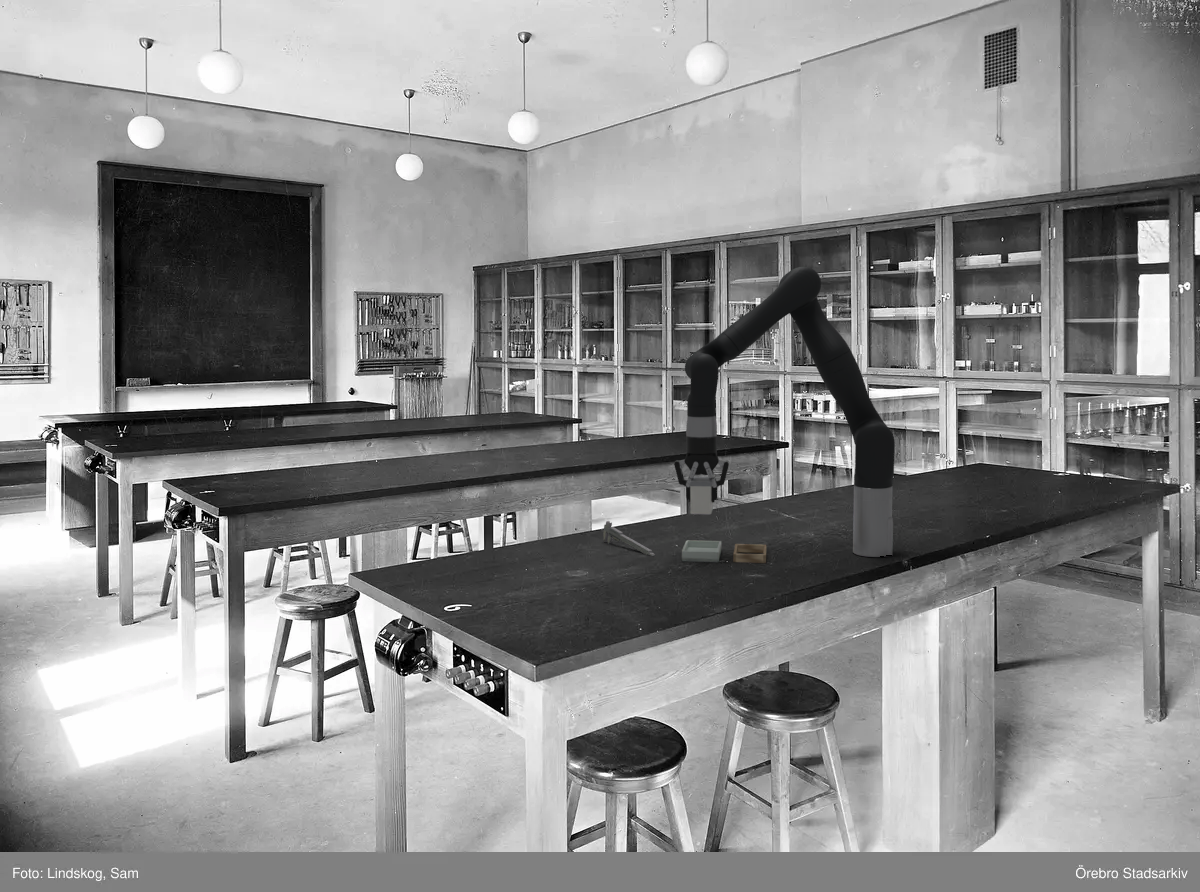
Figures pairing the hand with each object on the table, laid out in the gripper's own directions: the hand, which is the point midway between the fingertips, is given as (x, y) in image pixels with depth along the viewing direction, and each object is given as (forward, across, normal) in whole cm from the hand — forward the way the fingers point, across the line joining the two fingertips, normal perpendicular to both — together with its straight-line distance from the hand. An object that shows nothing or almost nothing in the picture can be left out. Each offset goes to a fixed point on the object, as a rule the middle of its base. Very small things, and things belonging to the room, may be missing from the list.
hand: (701, 501), depth 229 cm
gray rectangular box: (+2, 0, 0) cm, 2 cm away
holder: (+14, -12, 0) cm, 18 cm away
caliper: (+14, +20, -6) cm, 25 cm away
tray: (+14, 0, 0) cm, 14 cm away
